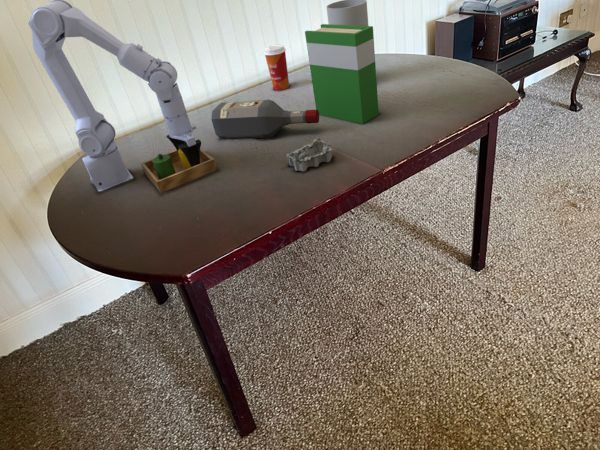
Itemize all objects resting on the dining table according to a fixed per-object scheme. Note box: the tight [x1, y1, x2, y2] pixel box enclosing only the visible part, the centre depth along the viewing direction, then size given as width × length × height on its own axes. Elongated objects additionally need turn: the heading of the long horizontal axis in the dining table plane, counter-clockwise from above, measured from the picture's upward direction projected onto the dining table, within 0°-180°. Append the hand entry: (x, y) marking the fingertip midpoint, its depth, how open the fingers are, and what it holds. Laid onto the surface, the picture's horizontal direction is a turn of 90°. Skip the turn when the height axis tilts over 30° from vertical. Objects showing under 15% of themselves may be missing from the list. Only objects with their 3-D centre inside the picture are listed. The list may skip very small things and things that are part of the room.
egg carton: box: [285, 137, 334, 173], centre depth 115 cm, size 11×8×4 cm
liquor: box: [210, 99, 320, 139], centre depth 132 cm, size 9×9×30 cm
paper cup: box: [263, 44, 290, 92], centre depth 162 cm, size 8×8×14 cm
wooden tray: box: [140, 147, 218, 194], centre depth 122 cm, size 15×14×4 cm
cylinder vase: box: [326, 0, 369, 26], centre depth 152 cm, size 12×12×25 cm
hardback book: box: [304, 23, 380, 125], centre depth 131 cm, size 18×7×24 cm, turn 45°
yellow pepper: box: [178, 149, 201, 170], centre depth 122 cm, size 5×5×6 cm
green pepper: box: [152, 153, 176, 180], centre depth 119 cm, size 5×5×6 cm
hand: (191, 162), depth 123 cm, fingers open, 7 cm apart
